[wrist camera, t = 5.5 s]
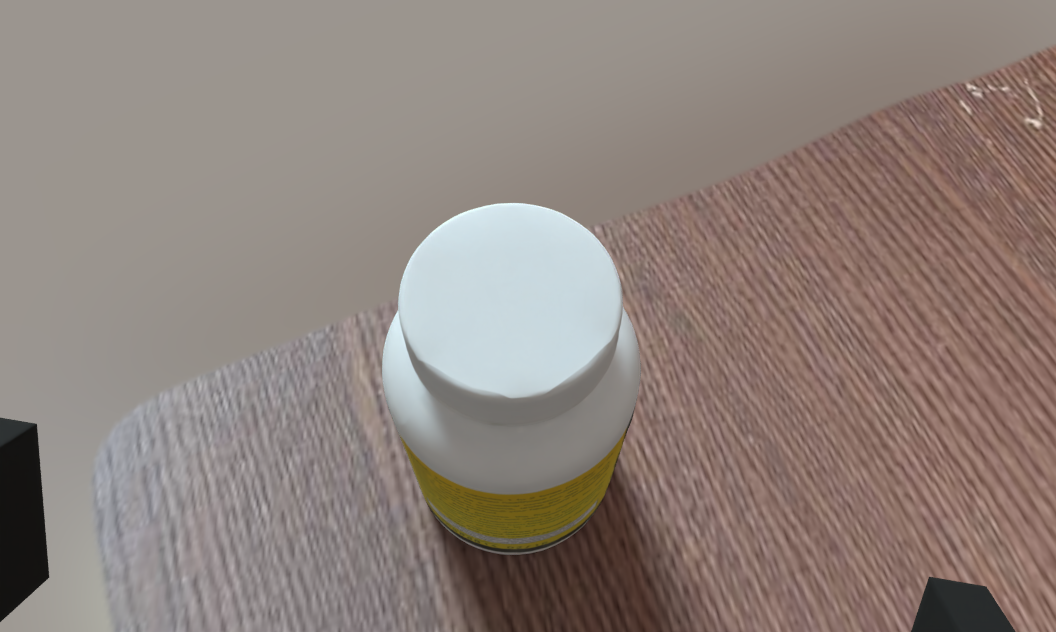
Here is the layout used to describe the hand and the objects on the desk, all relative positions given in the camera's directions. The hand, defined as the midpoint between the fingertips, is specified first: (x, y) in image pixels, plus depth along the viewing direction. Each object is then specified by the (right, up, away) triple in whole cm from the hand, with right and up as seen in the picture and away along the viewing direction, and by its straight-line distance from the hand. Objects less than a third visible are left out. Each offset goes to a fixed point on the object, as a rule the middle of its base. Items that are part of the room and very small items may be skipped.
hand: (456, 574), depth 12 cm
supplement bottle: (+1, 0, +11) cm, 11 cm away
